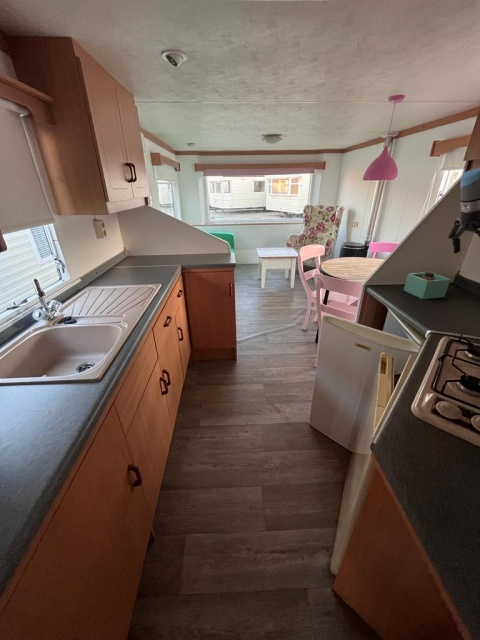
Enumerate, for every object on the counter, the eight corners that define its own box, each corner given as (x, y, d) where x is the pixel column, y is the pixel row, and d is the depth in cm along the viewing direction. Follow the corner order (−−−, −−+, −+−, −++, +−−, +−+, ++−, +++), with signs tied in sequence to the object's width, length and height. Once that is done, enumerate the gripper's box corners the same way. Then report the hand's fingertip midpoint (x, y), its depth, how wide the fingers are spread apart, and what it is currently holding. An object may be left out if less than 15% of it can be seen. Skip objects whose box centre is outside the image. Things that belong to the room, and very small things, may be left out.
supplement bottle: (417, 289, 150) (423, 270, 144) (430, 291, 147) (436, 271, 142) (417, 293, 145) (423, 273, 140) (430, 294, 142) (437, 274, 137)
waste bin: (444, 296, 141) (450, 279, 137) (422, 299, 139) (427, 281, 135) (424, 288, 153) (429, 271, 149) (403, 290, 151) (408, 273, 147)
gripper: (438, 211, 123) (439, 253, 133) (495, 215, 101) (492, 264, 111) (452, 204, 123) (453, 246, 133) (513, 206, 101) (508, 257, 111)
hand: (470, 255), depth 122 cm, fingers open, 13 cm apart
